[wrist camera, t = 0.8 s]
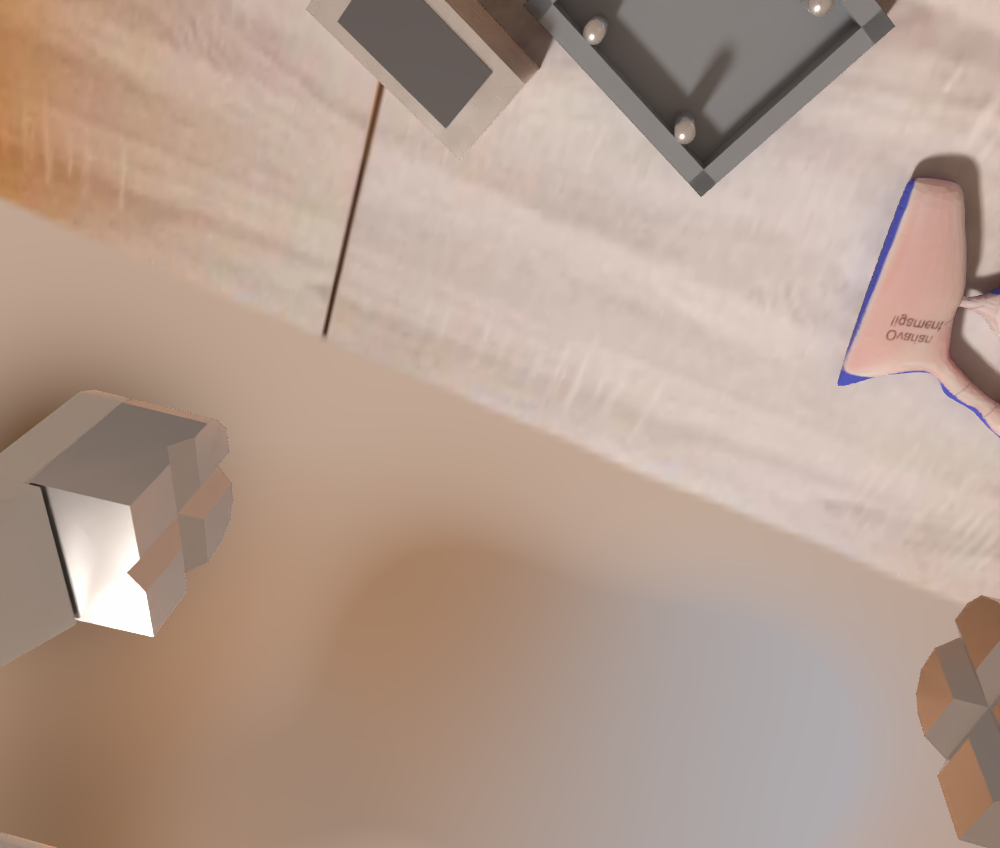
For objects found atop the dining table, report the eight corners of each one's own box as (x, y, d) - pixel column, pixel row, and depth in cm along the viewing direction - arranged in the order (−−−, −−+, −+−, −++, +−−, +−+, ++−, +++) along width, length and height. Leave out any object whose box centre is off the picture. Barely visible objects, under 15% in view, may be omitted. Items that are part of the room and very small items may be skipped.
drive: (398, -84, 38) (363, -84, 34) (540, 67, 40) (524, 84, 36) (343, 0, 40) (304, 9, 36) (480, 137, 43) (459, 160, 39)
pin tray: (703, -212, 33) (706, -226, 29) (882, 19, 36) (903, 29, 33) (531, 0, 38) (518, 8, 35) (699, 183, 42) (701, 205, 38)
